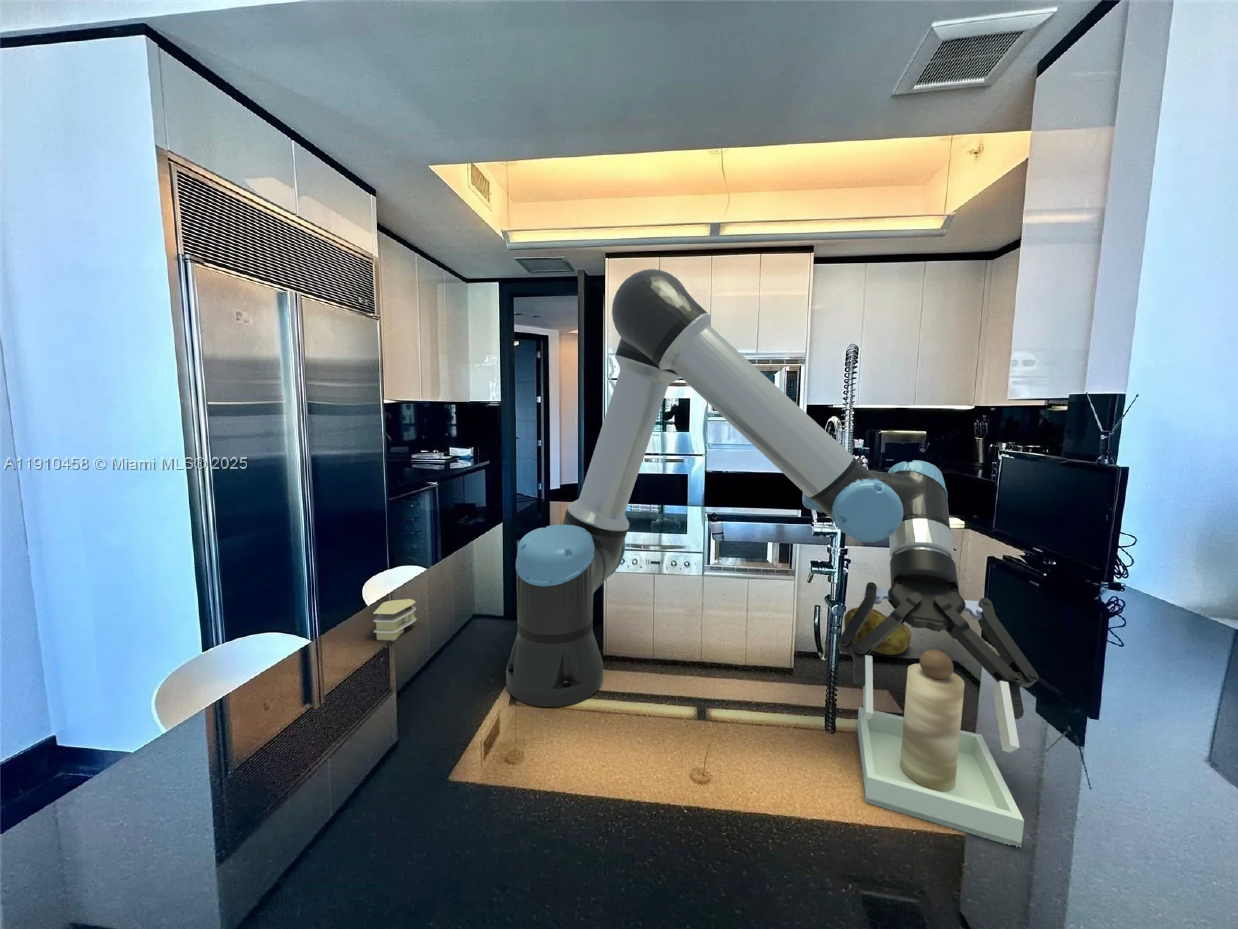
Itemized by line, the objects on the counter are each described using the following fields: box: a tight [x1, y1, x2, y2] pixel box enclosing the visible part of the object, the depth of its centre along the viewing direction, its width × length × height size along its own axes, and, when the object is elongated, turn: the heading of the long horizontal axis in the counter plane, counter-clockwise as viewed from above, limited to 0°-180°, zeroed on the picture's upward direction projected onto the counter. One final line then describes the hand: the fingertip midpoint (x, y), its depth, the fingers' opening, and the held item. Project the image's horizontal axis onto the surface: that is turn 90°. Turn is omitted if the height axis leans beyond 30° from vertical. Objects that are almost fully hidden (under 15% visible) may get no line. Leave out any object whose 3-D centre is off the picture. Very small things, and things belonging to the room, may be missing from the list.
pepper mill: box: [900, 649, 965, 792], centre depth 55 cm, size 5×5×15 cm
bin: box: [856, 706, 1025, 849], centre depth 55 cm, size 14×14×3 cm
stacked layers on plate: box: [372, 598, 417, 641], centre depth 89 cm, size 10×9×6 cm
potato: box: [843, 606, 912, 656], centre depth 85 cm, size 8×13×8 cm, turn 88°
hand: (935, 732), depth 52 cm, fingers open, 13 cm apart
